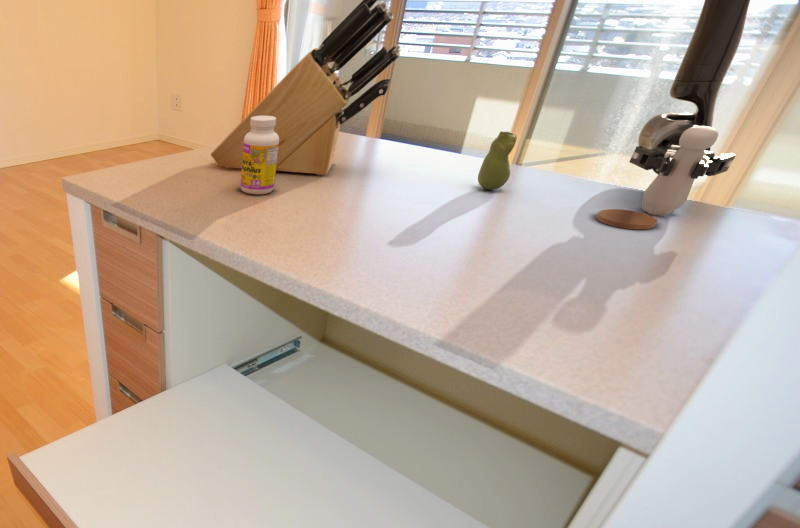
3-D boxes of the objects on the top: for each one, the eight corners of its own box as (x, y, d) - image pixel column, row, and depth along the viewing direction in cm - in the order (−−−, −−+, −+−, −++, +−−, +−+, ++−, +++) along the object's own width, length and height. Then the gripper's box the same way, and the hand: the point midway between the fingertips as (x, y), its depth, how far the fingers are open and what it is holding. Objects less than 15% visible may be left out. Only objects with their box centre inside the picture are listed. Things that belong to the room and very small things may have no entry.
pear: (475, 184, 108) (493, 127, 101) (504, 186, 106) (525, 129, 99) (473, 191, 104) (491, 133, 98) (503, 194, 102) (525, 135, 96)
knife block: (372, 180, 111) (414, -12, 92) (209, 168, 121) (215, -7, 102) (376, 167, 119) (414, -12, 100) (223, 157, 130) (231, -7, 110)
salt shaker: (631, 212, 92) (673, 133, 83) (642, 198, 95) (685, 119, 85) (672, 221, 89) (721, 139, 79) (683, 206, 91) (732, 124, 82)
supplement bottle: (233, 190, 108) (237, 117, 100) (256, 184, 111) (262, 113, 103) (257, 197, 103) (264, 122, 95) (280, 191, 107) (289, 117, 99)
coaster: (654, 218, 89) (657, 214, 89) (654, 233, 84) (657, 227, 84) (597, 211, 93) (599, 206, 93) (594, 224, 88) (596, 219, 88)
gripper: (640, 122, 96) (641, 139, 85) (744, 129, 90) (759, 148, 79) (619, 167, 101) (617, 189, 90) (716, 177, 94) (726, 201, 83)
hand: (683, 170), depth 84 cm, fingers closed on salt shaker, 3 cm apart
